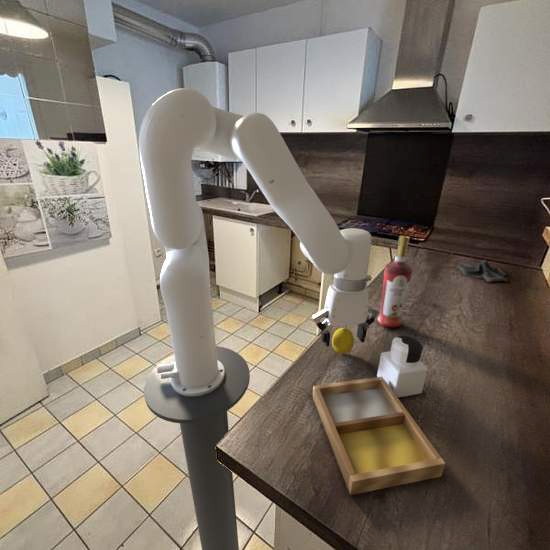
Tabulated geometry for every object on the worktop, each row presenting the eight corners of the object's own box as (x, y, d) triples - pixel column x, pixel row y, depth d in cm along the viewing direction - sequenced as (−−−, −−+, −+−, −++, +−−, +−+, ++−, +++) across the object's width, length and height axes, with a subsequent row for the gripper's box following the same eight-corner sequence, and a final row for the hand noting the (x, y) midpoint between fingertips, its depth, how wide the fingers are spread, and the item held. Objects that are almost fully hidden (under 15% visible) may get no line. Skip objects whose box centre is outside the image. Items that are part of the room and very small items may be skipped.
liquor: (397, 318, 93) (414, 233, 82) (404, 331, 87) (422, 241, 76) (374, 317, 94) (387, 233, 83) (378, 329, 87) (393, 240, 77)
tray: (350, 495, 45) (352, 481, 44) (312, 397, 63) (313, 385, 62) (441, 476, 48) (445, 463, 47) (379, 387, 66) (382, 376, 65)
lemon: (348, 363, 74) (351, 336, 71) (327, 356, 76) (330, 330, 73) (354, 351, 78) (358, 325, 75) (334, 344, 81) (337, 320, 78)
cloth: (503, 286, 116) (508, 272, 113) (452, 273, 128) (455, 260, 126) (514, 271, 130) (518, 258, 128) (467, 261, 142) (470, 249, 140)
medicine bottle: (402, 372, 71) (411, 330, 66) (422, 393, 64) (434, 349, 60) (376, 376, 69) (383, 334, 65) (393, 399, 63) (403, 354, 58)
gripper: (375, 272, 74) (367, 329, 80) (309, 277, 71) (307, 336, 78) (391, 285, 67) (381, 346, 74) (319, 291, 64) (315, 354, 71)
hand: (343, 341), depth 76 cm, fingers open, 9 cm apart
